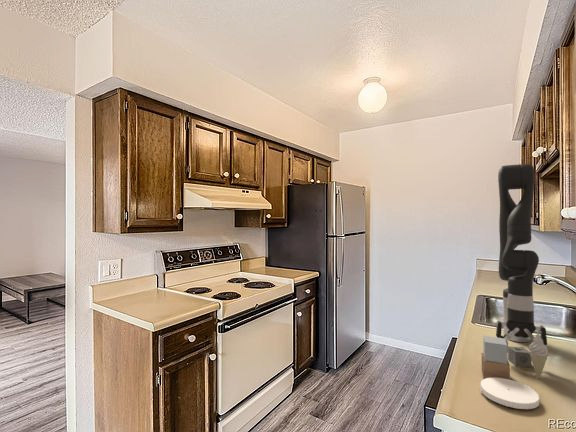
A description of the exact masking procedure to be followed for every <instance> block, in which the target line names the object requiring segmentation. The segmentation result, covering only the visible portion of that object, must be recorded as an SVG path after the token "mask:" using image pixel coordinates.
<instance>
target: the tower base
mask: <svg viewBox="0 0 576 432" xmlns="http://www.w3.org/2000/svg"><path fill="white" fill-rule="evenodd" d="M510 370H511V366H510V361H508V364H502V363H496V362H490V361H485V358H484V352H481V373H482V380H483V379H486V378H492V377H493V378H505V379H510V380H511V371H510Z"/></svg>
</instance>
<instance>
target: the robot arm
mask: <svg viewBox="0 0 576 432" xmlns="http://www.w3.org/2000/svg"><path fill="white" fill-rule="evenodd" d="M497 175H498V176H497V178H498V180H497V181H498V182H497V183H498V193H499V195H498V197H499V219H498V221H499V223H498V224H499V226H498V228H499V229H498V230H499V231H498V232H499V259H498V276H499V278H500V279H501V280H502V281H506V282H507V288H505V289H503V290H502V303H503V304H502V310H503V311H502V312H503V313H502V317H503V320H502V321H500V320H497V321H496V331H495V337H497V338H504V339H505V340H506V343H507V351H508V346H509V342H508V341H513V342H518V343H529V342H530V341H532V342H533V339H534V338H535V336H534V334H533V333H534V332H535V331H536V330H537V332H538V333H539V335H540V337H541V339H542V340H543V343H544V345H545V346H546V347H547V345H548V340H547V339H548V337H547V329H546V328H545V327H544V325H540V326H537V325H535V315H534V314H535V312H534V311H535V310H534V309H535V304H534V303H535V302H534V296H533V293H534V292H533V291H534V290H533V288H534V284H533V283H534V277H535V275H536V274H535V273H536V271H537V269H538V265H539V262H540V259H539V257H540V256H539V255H538V253H536V252H535V250H527V249H526V250H524V249H516V248H517V247H518V246H521V245H527V244H530V243H531V242H532V211H533V203H534V194H535V193H534V192H535V179H536V177H535V168H534V166H533V165H532V164H531V163H518V164H506V165H502V166H500V167H499V169H498V174H497ZM510 190H523V194H522V196H521V199H520V200H519V202H518V203H516V202H515V201H514V200H513V198H512V196H511V194H510ZM502 329H503V331H502ZM502 333H503V335H502Z"/></svg>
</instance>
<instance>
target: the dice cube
mask: <svg viewBox="0 0 576 432" xmlns="http://www.w3.org/2000/svg"><path fill="white" fill-rule="evenodd" d="M528 351H529V349H527V348H525V347H524V346H511V345H510V346H509V345H508V362H509V363H511V364H512V365H513V366H514V367H520V368H523V367H524V368H533V367H532V366H533V363H532V360H531V357H530V354H529V352H528Z"/></svg>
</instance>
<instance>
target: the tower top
mask: <svg viewBox="0 0 576 432" xmlns="http://www.w3.org/2000/svg"><path fill="white" fill-rule="evenodd" d="M482 337H483V338H482V339H483V341H482V342H483V353H484V358H485V361H490V362H496V363H502V364H508V362H509V360H508V351H507V343H506V340H505V339H504V338H497V336H489V335H483V336H482Z"/></svg>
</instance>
